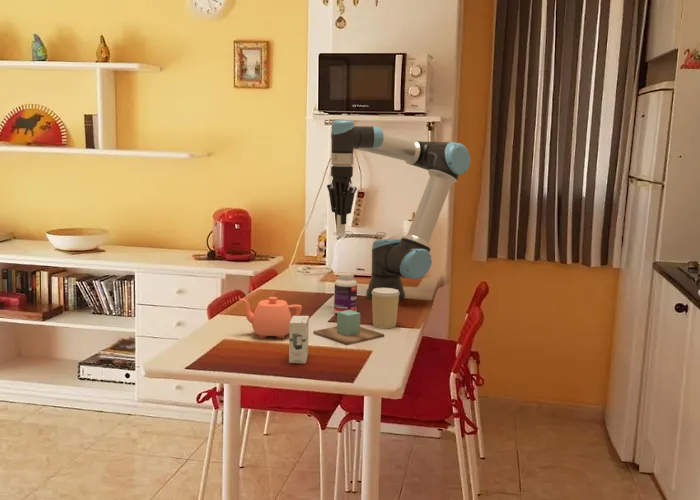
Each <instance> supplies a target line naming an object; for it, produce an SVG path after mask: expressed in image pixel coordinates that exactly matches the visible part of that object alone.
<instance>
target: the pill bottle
mask: <svg viewBox="0 0 700 500" xmlns="http://www.w3.org/2000/svg"><path fill="white" fill-rule="evenodd" d="M337 275H338V276H337V277H338V278H337V279H336V280H335V282H334V292H333V293H334V295H333V296H334V299H333V304H334V305H333V312H334V313H336V314H337V312H341V311H346V310H352V311H355V312H357V304H358V303H357V302H358V301H357V300H358V281H356V280H355V279H354V277H355V273H353V272H347V271H346V272H345V271H343V272H339V273H338V274H337Z"/></svg>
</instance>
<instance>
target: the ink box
mask: <svg viewBox="0 0 700 500" xmlns="http://www.w3.org/2000/svg"><path fill="white" fill-rule="evenodd" d="M309 321H310V316H309V315H299V316H294V315H292V319H291V321H290V330H289V333H288V334H289V339H288V343H289V344H288V350H289V351H288V363H289V364H306V363H307V359H308V356H309V330H310V329H309V327H310V326H309V325H310V322H309Z"/></svg>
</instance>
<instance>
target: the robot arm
mask: <svg viewBox="0 0 700 500" xmlns="http://www.w3.org/2000/svg"><path fill="white" fill-rule="evenodd" d="M330 139H331V156H330V158H331V159H330V160H331V162H330V163H331V167H330V176H331V178H332V180H331V183H330V184H327V185H326V188H327V190H328V196H329V203H330V208H331V212H332V213H334V214H335V223H336V234H339V235H342V234H346V225H347V216H348V215H349V214H351V213H352V210H353V205H354V204H353V203H354V198H355V193H356V191H357V189H358V188H357V186H353V182H352V177H353V174H354V167H353V166H352V165H354V149H355V150H358V151H363V152H367V153H372V154H375V155H380V156H383V157H388V158H392V159H395V160H396V159H397V160H400V161H404V162H405V163H406V164H407V165H410V166H414V167H417V168H419V169H420V168H421V169H422V170H426V171H427V173H428V175H429V178H428V181H427V183H426V186H425V188H424V191H423V193H422V196H421V198H420V200H419V203H418V207H417V210H416V212H415V215H414V217H413V219H412V222H411V225H410V226H409V227H410V228H409V230H408V232H407V234H406V235H404V236H402V237H401V238H387V239H384V238H383V239H375V240H374V241H373V243H372V249H371V277H370V280H369V283H368V288H367V289H366V291H365V292H366V293H365V294H366V295H365V296H366V298H368V299H369V300H372V291H373V289H375V288H393V289H397V290H398V291H399V293H400V294H399V301H402V300H404V299H405V298H406V293H405V290H404V284H403V282H402V281H403V280H402V277H404V278H406V279H413V280H417V279H421V278H423V277H424V276H425V275H427V274H428V273H429V271H430V269H431V267H432V261H433V259H432V254H431V250H432V249H431V246H430V241H431V238H432V235H433V232H434V230H435V228H436V226H437V223H438V220H439V217H440V214H441V212H442V211H443V210H442V209H443V207H444V204H445V202H446V199H447V198H448V194H449V192H450V190H451V189H450V188H451V186H452V185H453V184H455V183H457V182H458V180H459V177H460V176H461V175H463V174H464V173H466V172H467V171H468V169H469V168H470V166H471V155H470V154H469V152H470V151H469V150H468V148H467V147H466V146H465V145H464V144H463V143H459V142H455V141H451V142H450V141H419V140H416V139H412V140H409V141H408V140H404V139H401V138H396V137H394V136H393V137H392V136H390V135H389V136H388V135H385V134H384V132H383V130H382V128H381V127H379V126H373V125H371V126H369V125H365V126H364V125H363V126H361V125H354V120H340V119H337V120H333V121H332V124H331V131H330Z"/></svg>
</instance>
